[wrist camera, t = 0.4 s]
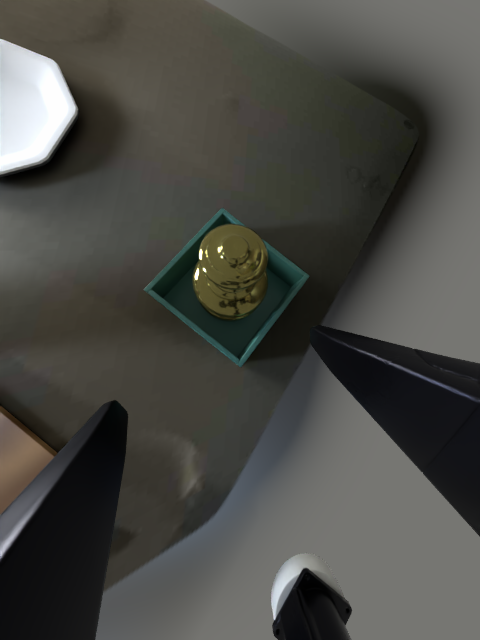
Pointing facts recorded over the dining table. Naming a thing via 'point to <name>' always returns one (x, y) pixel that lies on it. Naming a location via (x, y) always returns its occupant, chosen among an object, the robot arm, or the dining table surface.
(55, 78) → the plate
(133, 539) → the dining table surface
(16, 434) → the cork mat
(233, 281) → the brass door knob
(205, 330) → the storage box
